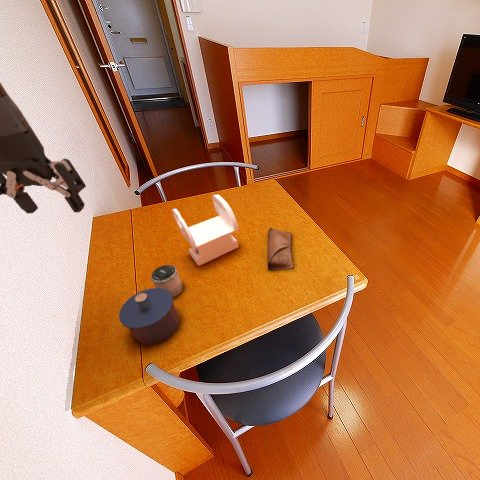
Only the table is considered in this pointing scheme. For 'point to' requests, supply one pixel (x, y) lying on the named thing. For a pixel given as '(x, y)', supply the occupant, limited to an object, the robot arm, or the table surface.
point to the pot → (159, 329)
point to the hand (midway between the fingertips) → (56, 210)
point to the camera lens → (167, 279)
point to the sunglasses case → (279, 250)
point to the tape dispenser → (210, 233)
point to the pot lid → (146, 308)
